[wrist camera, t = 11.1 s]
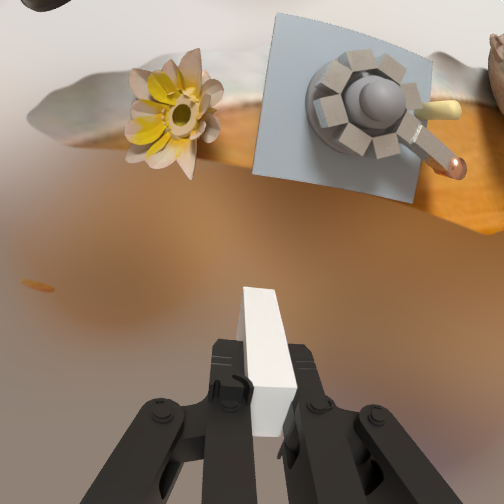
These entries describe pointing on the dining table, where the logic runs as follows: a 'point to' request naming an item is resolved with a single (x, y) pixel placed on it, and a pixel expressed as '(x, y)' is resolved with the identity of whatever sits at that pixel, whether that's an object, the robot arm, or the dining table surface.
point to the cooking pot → (497, 69)
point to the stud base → (356, 106)
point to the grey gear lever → (400, 132)
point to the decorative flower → (172, 113)
